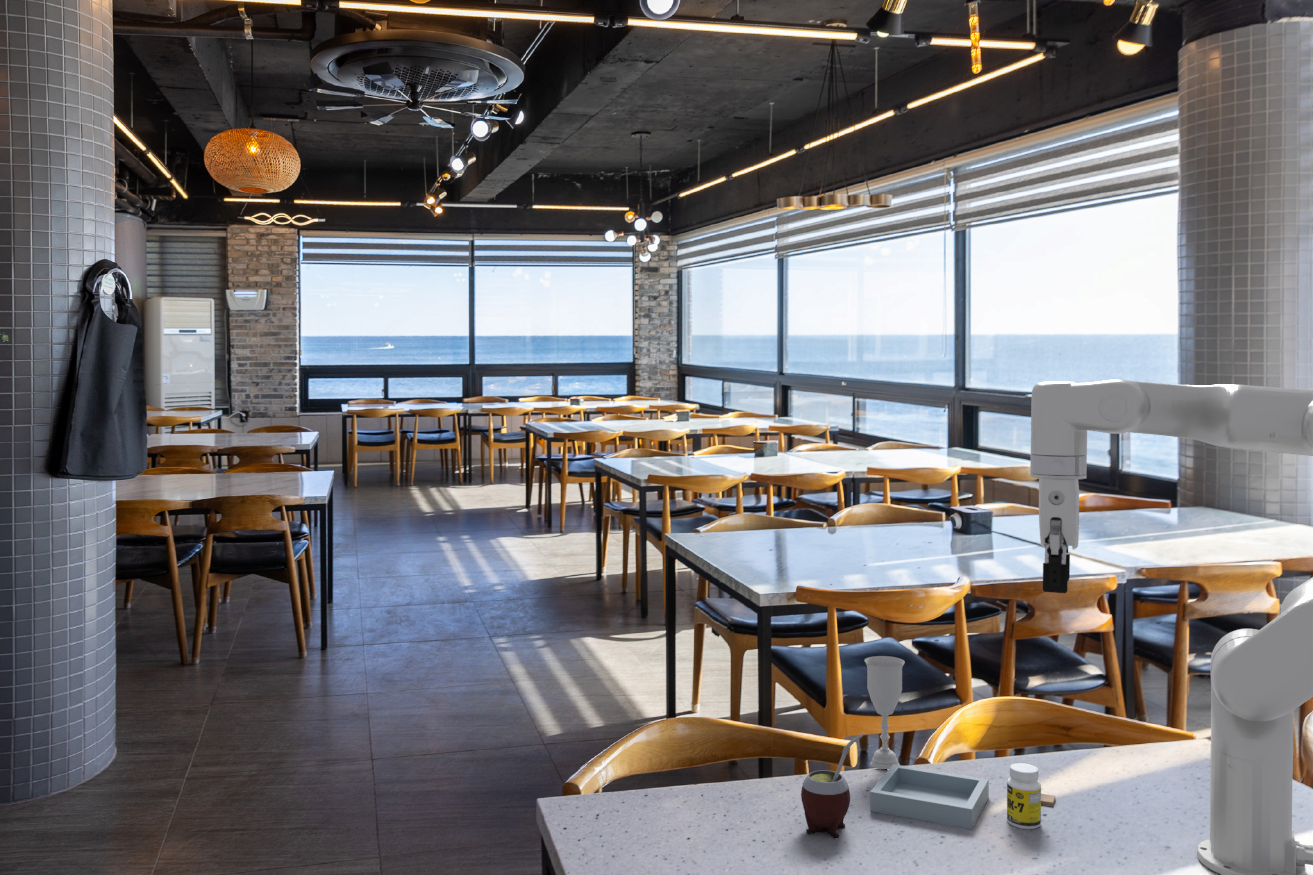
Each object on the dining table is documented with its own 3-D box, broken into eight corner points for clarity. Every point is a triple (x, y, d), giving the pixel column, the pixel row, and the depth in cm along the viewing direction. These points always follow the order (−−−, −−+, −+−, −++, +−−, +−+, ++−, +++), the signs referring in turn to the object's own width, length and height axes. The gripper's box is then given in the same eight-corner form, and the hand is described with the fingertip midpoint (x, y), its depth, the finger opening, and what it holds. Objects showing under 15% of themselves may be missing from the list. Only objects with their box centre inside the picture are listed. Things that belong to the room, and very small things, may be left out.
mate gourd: (793, 824, 153) (792, 724, 153) (839, 816, 156) (838, 718, 155) (818, 844, 146) (817, 740, 146) (866, 835, 149) (865, 733, 148)
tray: (988, 797, 162) (988, 779, 162) (972, 829, 151) (972, 809, 150) (893, 782, 169) (893, 764, 169) (870, 810, 158) (870, 791, 158)
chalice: (906, 773, 173) (905, 667, 173) (864, 770, 175) (864, 665, 174) (904, 758, 180) (904, 656, 180) (864, 756, 182) (864, 655, 181)
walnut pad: (1055, 799, 161) (1055, 795, 161) (1052, 806, 159) (1052, 802, 159) (1015, 793, 164) (1015, 789, 164) (1012, 799, 161) (1012, 795, 161)
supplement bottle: (999, 820, 154) (999, 764, 153) (1023, 814, 156) (1023, 759, 155) (1023, 832, 149) (1023, 775, 149) (1048, 826, 151) (1048, 770, 151)
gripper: (1085, 472, 138) (1083, 599, 139) (1087, 464, 154) (1085, 578, 155) (1026, 471, 141) (1024, 595, 142) (1034, 463, 157) (1032, 574, 158)
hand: (1056, 586), depth 148 cm, fingers open, 9 cm apart
